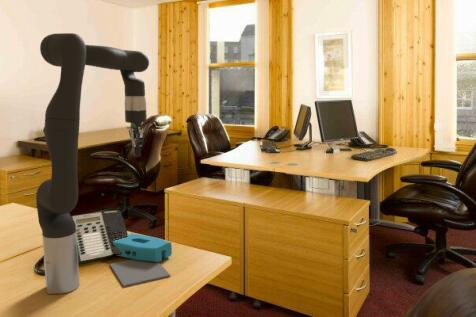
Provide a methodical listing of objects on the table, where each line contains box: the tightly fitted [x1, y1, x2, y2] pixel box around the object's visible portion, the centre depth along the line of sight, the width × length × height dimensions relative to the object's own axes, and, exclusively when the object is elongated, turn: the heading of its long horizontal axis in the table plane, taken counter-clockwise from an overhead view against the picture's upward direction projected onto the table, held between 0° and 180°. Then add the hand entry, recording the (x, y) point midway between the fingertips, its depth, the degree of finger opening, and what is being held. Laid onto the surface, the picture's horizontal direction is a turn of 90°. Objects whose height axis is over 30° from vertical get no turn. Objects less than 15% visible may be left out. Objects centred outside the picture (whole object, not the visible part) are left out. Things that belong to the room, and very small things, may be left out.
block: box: [113, 232, 173, 263], centre depth 152 cm, size 12×5×20 cm
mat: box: [109, 259, 171, 288], centre depth 140 cm, size 15×18×1 cm
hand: (137, 156), depth 154 cm, fingers closed
